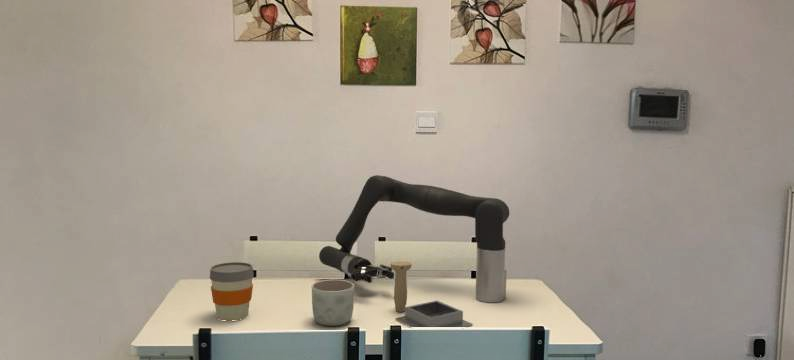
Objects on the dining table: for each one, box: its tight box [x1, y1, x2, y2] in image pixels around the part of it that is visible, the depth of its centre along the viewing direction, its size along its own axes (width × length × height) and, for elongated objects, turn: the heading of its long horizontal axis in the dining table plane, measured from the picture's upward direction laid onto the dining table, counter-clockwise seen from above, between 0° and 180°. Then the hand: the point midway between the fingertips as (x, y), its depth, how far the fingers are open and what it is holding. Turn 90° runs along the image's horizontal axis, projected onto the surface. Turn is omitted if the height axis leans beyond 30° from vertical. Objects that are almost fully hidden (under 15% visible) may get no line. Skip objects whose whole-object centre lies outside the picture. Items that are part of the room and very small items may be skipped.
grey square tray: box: [395, 300, 473, 328], centre depth 171 cm, size 16×16×4 cm
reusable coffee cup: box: [209, 261, 254, 322], centre depth 174 cm, size 13×13×15 cm
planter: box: [311, 279, 355, 327], centre depth 171 cm, size 12×12×11 cm
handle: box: [390, 261, 412, 313], centre depth 181 cm, size 5×6×15 cm
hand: (382, 277), depth 190 cm, fingers open, 8 cm apart
